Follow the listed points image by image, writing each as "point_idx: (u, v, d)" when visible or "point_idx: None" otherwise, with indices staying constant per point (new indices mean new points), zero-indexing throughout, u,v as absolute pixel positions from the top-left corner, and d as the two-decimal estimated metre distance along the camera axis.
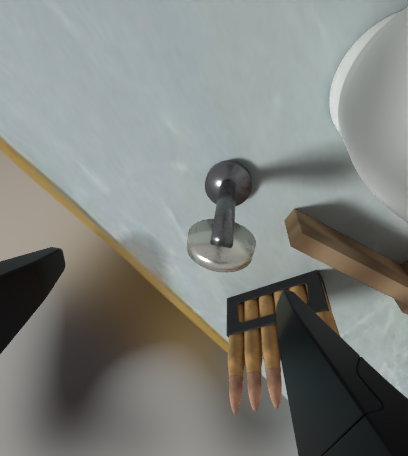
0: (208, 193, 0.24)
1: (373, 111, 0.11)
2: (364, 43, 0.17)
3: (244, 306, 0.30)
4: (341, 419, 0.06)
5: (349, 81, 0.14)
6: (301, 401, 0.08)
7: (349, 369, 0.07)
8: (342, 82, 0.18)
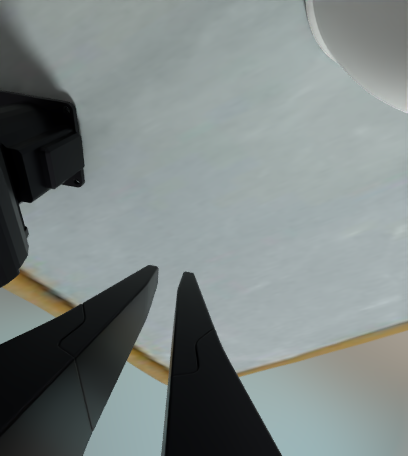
0: None
1: None
2: None
3: None
4: None
5: None
6: None
7: (190, 339, 0.07)
8: None
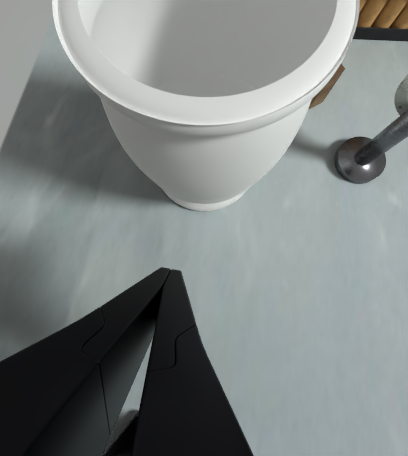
0: (384, 161, 0.23)
1: (294, 135, 0.13)
2: (219, 202, 0.22)
3: None
4: None
5: None
6: None
7: (170, 335, 0.07)
8: None
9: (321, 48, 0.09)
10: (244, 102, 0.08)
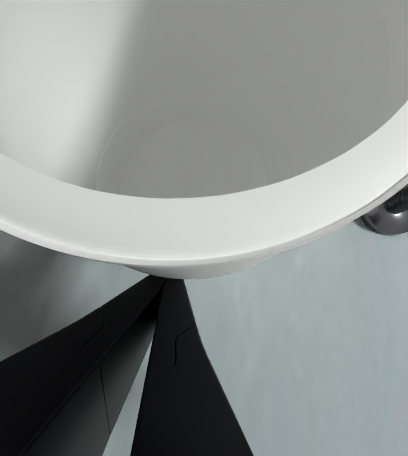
0: None
1: None
2: None
3: None
4: None
5: None
6: None
7: (170, 335, 0.07)
8: None
9: None
10: (260, 209, 0.04)
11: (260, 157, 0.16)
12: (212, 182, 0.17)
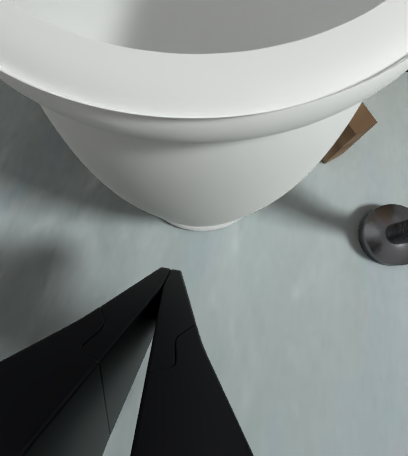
0: None
1: None
2: None
3: None
4: None
5: None
6: None
7: (170, 335, 0.07)
8: None
9: None
10: (282, 65, 0.04)
11: None
12: None
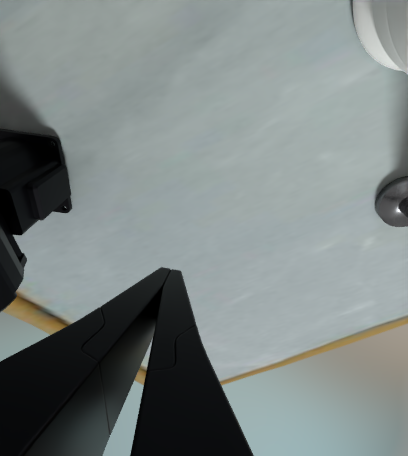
0: None
1: None
2: (378, 47, 0.15)
3: None
4: None
5: None
6: None
7: (170, 335, 0.07)
8: None
9: None
10: None
11: None
12: None
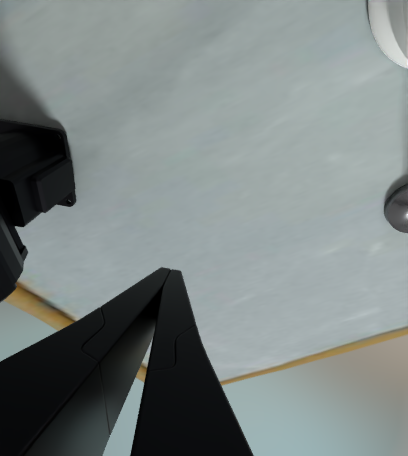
0: None
1: None
2: (393, 46, 0.15)
3: None
4: None
5: None
6: None
7: (170, 335, 0.07)
8: None
9: None
10: None
11: None
12: None
